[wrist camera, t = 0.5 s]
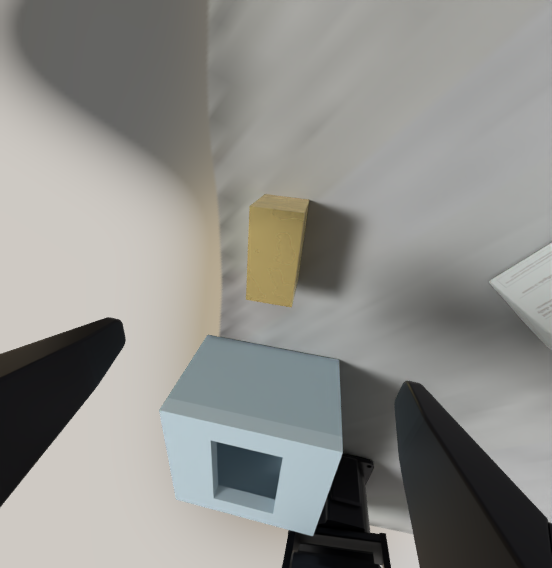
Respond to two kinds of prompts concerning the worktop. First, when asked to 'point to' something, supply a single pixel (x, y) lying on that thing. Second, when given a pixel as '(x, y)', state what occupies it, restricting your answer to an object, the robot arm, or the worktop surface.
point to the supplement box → (530, 292)
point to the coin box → (255, 432)
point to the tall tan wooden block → (275, 248)
